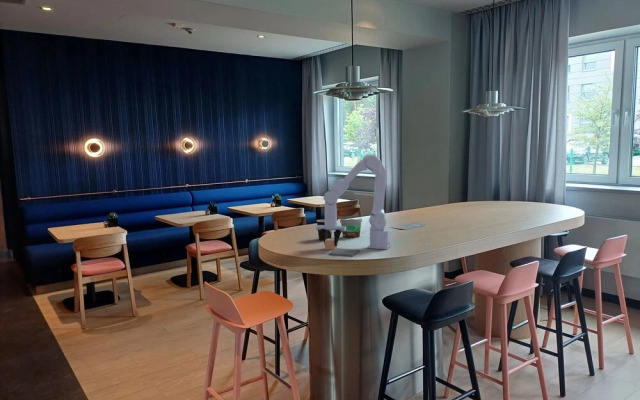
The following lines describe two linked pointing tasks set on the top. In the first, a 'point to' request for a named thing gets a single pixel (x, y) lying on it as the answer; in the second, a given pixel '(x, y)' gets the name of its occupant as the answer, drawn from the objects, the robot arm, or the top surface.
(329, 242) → the cube
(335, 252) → the mat
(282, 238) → the top surface
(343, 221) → the food container
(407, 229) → the top surface
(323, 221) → the coffee mug
